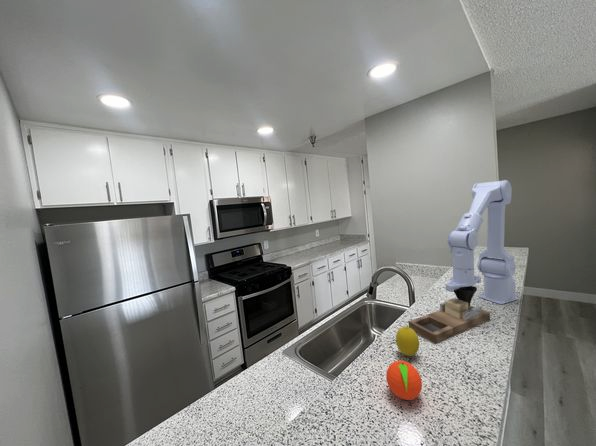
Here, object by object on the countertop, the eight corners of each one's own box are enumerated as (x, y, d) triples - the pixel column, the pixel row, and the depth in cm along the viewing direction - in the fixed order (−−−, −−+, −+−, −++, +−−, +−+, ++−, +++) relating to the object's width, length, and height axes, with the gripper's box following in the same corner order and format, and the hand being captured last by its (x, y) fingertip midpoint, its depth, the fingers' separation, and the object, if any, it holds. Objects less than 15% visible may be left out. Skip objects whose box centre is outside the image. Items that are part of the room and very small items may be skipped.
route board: (461, 309, 83) (461, 302, 83) (490, 319, 75) (489, 312, 75) (408, 329, 74) (408, 321, 74) (435, 343, 66) (434, 335, 65)
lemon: (422, 363, 59) (421, 332, 58) (399, 362, 60) (397, 332, 59) (416, 349, 64) (414, 321, 63) (394, 348, 65) (393, 321, 65)
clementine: (428, 416, 45) (426, 381, 44) (389, 410, 47) (387, 377, 46) (418, 384, 52) (417, 354, 52) (385, 380, 54) (383, 351, 54)
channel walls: (455, 305, 81) (454, 298, 81) (480, 314, 74) (480, 307, 74) (440, 310, 78) (439, 303, 78) (465, 321, 71) (465, 313, 71)
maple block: (454, 309, 79) (453, 297, 78) (468, 314, 74) (468, 302, 74) (445, 312, 77) (444, 301, 77) (459, 318, 73) (458, 306, 72)
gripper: (464, 261, 82) (466, 298, 83) (436, 268, 77) (437, 308, 78) (487, 265, 76) (488, 305, 77) (457, 274, 70) (459, 317, 71)
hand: (464, 307), depth 77 cm, fingers closed
